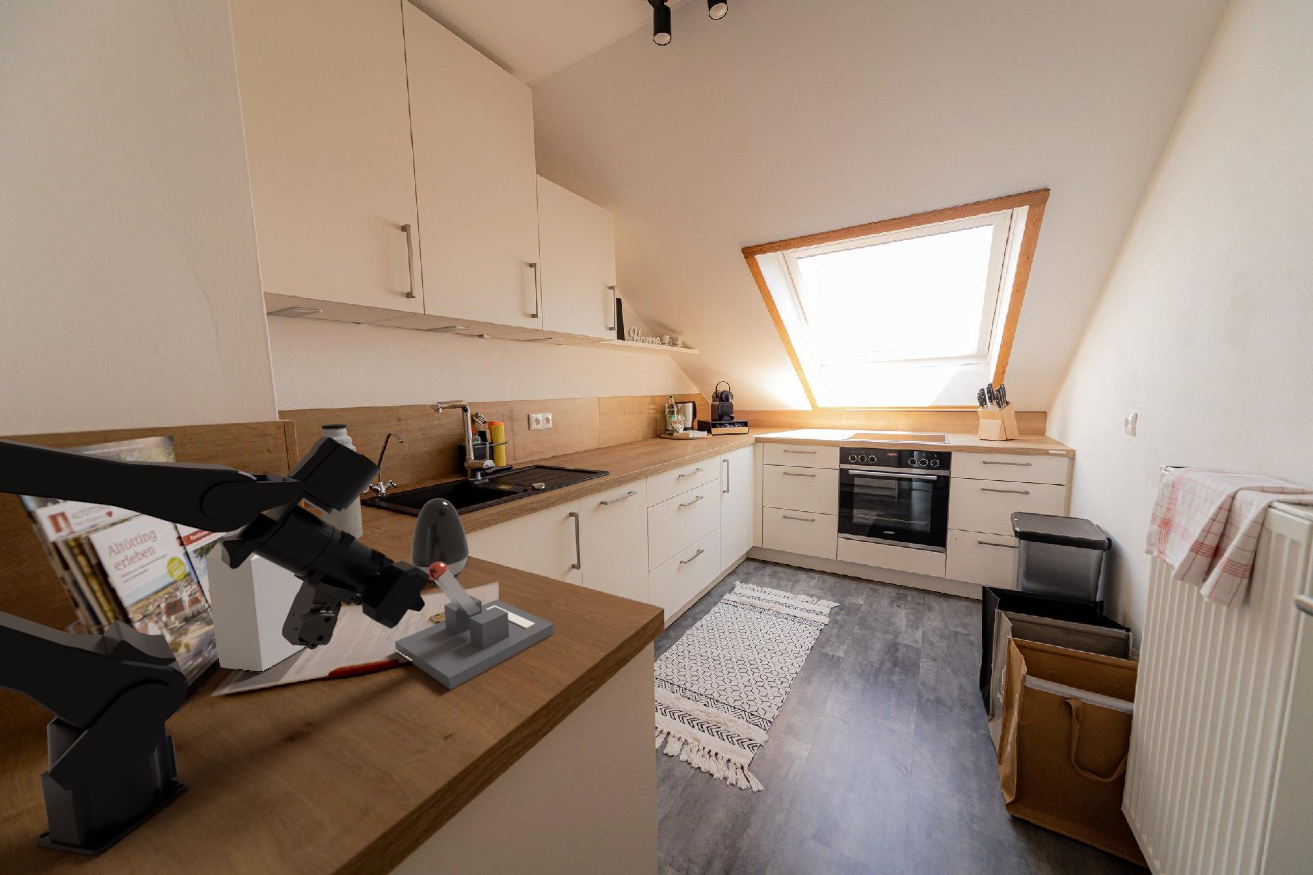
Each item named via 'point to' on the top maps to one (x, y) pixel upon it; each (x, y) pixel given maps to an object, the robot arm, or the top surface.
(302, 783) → the top surface
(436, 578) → the switch lever
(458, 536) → the grey egg shaped device
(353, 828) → the top surface
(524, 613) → the switch box
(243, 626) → the milk carton
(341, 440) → the thermos bottle
